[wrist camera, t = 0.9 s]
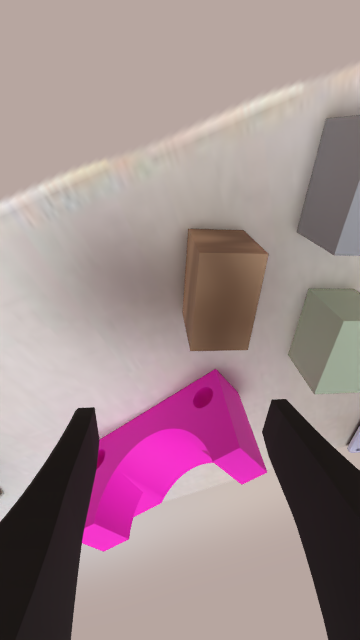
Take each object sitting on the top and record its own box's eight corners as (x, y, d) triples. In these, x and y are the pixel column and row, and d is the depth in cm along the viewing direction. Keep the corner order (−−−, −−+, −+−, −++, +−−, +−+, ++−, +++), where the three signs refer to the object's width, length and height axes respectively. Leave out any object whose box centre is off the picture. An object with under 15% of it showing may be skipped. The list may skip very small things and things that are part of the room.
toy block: (128, 473, 31) (124, 559, 25) (84, 447, 28) (67, 537, 22) (251, 405, 27) (282, 486, 21) (215, 367, 25) (239, 447, 18)
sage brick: (353, 288, 22) (397, 320, 18) (327, 353, 25) (360, 392, 21) (308, 288, 21) (343, 321, 17) (287, 354, 24) (314, 394, 21)
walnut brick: (243, 229, 19) (268, 253, 15) (229, 312, 22) (247, 349, 18) (188, 228, 18) (199, 252, 14) (182, 312, 21) (190, 351, 17)
